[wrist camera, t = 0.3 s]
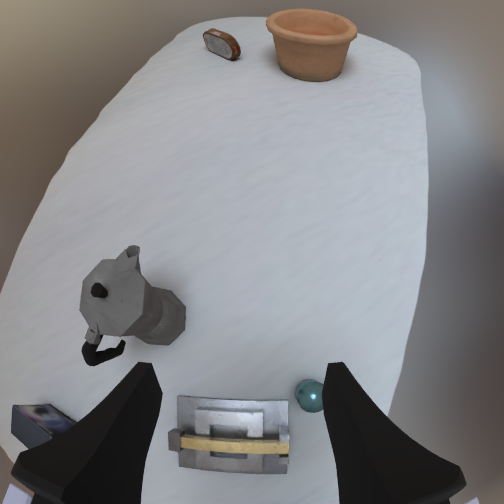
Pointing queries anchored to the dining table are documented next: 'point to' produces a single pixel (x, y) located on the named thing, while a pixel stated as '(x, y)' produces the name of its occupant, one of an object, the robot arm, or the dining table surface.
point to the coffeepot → (126, 307)
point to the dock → (233, 432)
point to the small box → (38, 423)
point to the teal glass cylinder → (309, 395)
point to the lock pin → (224, 444)
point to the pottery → (311, 42)
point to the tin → (222, 44)
